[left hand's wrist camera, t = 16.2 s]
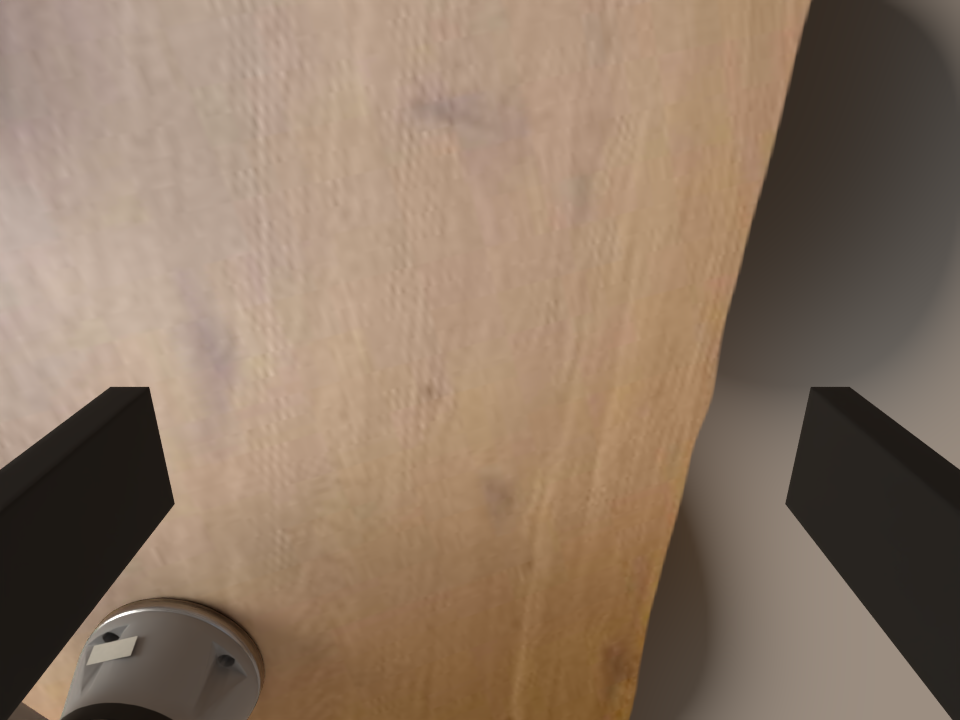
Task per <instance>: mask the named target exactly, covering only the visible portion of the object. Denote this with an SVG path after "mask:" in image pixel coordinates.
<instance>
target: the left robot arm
mask: <svg viewBox="0 0 960 720" xmlns="http://www.w3.org/2000/svg"><path fill="white" fill-rule="evenodd" d="M174 504H175V503H174V499H173V494H172V490H171V485H170V480H169V476H168V471H167V467H166V462H165V458H164V453H163V448H162V444H161V439H160V435H159V430H158V425H157V421H156V416H155V412H154V407H153V403H152V398H151V393H150V389H149V387H110V388H108V389H107V390H106V391H104V392H103V393H102V394H101V395H99V396H98V397H97V398H95V399H94V400H93V401H91V402H90V403H89V404H87V405H86V406H85V407H83V408H82V409H81V410H79V411H78V412H77V413H75V414H74V415H73V416H71V417H70V418H69V419H67V420H66V421H65V422H63V423H62V424H61V425H59V426H58V427H57V428H55V429H54V430H53V431H51V432H50V433H49V434H47V435H46V436H45V437H43V438H42V439H41V440H39V441H38V442H37V443H35V444H34V445H33V446H31V447H30V448H29V449H27V450H26V451H25V452H23V453H22V454H21V455H19V456H18V457H17V458H15V459H14V460H13V461H11V462H10V463H9V464H7V465H6V466H5V467H3V468H2V469H1V470H0V720H48V719H47V718H45V717H44V716H42V715H41V714H39V713H38V712H36V711H34V710H33V709H31V708H30V707H28V706H27V705H25V704H24V703H22V700H23V699H24V698H25V697H26V695H27V694H28V693H29V691H30V690H31V689H32V687H33V686H34V685H35V684H36V682H37V681H38V680H39V678H40V677H41V676H42V675H43V673H44V672H45V671H46V669H47V668H48V667H49V666H50V664H51V663H52V662H53V660H54V659H55V658H56V656H57V655H58V654H59V653H60V651H61V650H62V649H63V647H64V646H65V645H66V644H67V642H68V641H69V640H70V638H71V637H72V636H73V635H74V633H75V632H76V631H77V629H78V628H79V627H80V625H81V624H82V623H83V622H84V620H85V619H86V618H87V616H88V615H89V614H90V613H91V611H92V610H93V609H94V607H95V606H96V605H97V604H98V602H99V601H100V600H101V598H102V597H103V596H104V594H105V593H106V592H107V591H108V589H109V588H110V587H111V585H112V584H113V583H114V582H115V580H116V579H117V578H118V576H119V575H120V574H121V573H122V571H123V570H124V569H125V567H126V566H127V565H128V563H129V562H130V561H131V560H132V558H133V557H134V556H135V554H136V553H137V552H138V551H139V549H140V548H141V547H142V545H143V544H144V543H145V542H146V540H147V539H148V538H149V536H150V535H151V534H152V532H153V531H154V530H155V529H156V527H157V526H158V525H159V523H160V522H161V521H162V520H163V518H164V517H165V516H166V514H167V513H168V512H169V511H170V509H171V508H172V507H173V505H174ZM786 505H787V507H788V508H789V509H790V511H791V512H792V513H793V514H794V516H795V517H796V518H797V520H798V521H799V522H800V523H801V525H802V526H803V527H804V529H805V530H806V531H807V532H808V534H809V535H810V536H811V538H812V539H813V540H814V541H815V543H816V544H817V545H818V547H819V548H820V549H821V551H822V552H823V553H824V554H825V556H826V557H827V558H828V560H829V561H830V562H831V563H832V565H833V566H834V567H835V569H836V570H837V571H838V572H839V574H840V575H841V576H842V578H843V579H844V580H845V582H846V583H847V584H848V585H849V587H850V588H851V589H852V591H853V592H854V593H855V594H856V596H857V597H858V598H859V600H860V601H861V602H862V603H863V605H864V606H865V607H866V609H867V610H868V611H869V613H870V614H871V615H872V616H873V618H874V619H875V620H876V622H877V623H878V624H879V625H880V627H881V628H882V629H883V631H884V632H885V633H886V634H887V636H888V637H889V638H890V640H891V641H892V642H893V644H894V645H895V646H896V647H897V649H898V650H899V651H900V653H901V654H902V655H903V656H904V658H905V659H906V660H907V662H908V663H909V664H910V666H911V667H912V668H913V669H914V671H915V672H916V673H917V674H918V676H919V677H920V678H921V680H922V681H923V682H924V684H925V685H926V686H927V687H928V689H929V690H930V691H931V693H932V694H933V695H934V697H935V698H936V699H937V700H938V702H939V703H940V704H941V706H942V707H943V708H944V709H945V711H946V712H947V713H948V715H949V716H950V717H951V718H952V720H960V470H959V469H958V468H957V467H955V466H954V465H953V464H951V463H950V462H949V461H947V460H946V459H945V458H943V457H942V456H941V455H939V454H938V453H937V452H935V451H934V450H933V449H931V448H930V447H929V446H927V445H926V444H925V443H923V442H922V441H921V440H919V439H918V438H917V437H915V436H914V435H913V434H911V433H910V432H909V431H907V430H906V429H905V428H903V427H902V426H901V425H899V424H898V423H897V422H895V421H894V420H893V419H891V418H890V417H889V416H887V415H886V414H885V413H883V412H882V411H881V410H879V409H878V408H877V407H875V406H874V405H873V404H871V403H870V402H869V401H867V400H866V399H865V398H863V397H862V396H861V395H859V394H858V393H857V392H855V391H854V390H853V389H851V388H850V387H811V389H810V394H809V398H808V403H807V407H806V412H805V416H804V421H803V426H802V430H801V435H800V439H799V444H798V449H797V453H796V458H795V462H794V467H793V471H792V476H791V480H790V485H789V490H788V494H787V499H786ZM263 683H264V664H263V661H262V657H261V655H260V652H259V650H258V648H257V647H256V645H255V643H254V642H253V641H252V639H251V638H250V637H249V636H248V634H247V633H246V632H245V631H244V630H243V629H242V628H241V627H240V626H238V625H237V624H236V623H235V622H233V621H232V620H230V619H229V618H227V617H226V616H224V615H222V614H221V613H219V612H217V611H215V610H213V609H210V608H208V607H205V606H203V605H199V604H196V603H193V602H188V601H184V600H178V599H164V598H158V599H147V600H140V601H136V602H133V603H130V604H127V605H124V606H122V607H120V608H118V609H116V610H114V611H113V612H111V613H110V614H109V615H107V616H106V617H105V618H104V619H103V620H102V621H101V622H100V624H99V625H98V626H97V628H96V629H95V630H94V632H93V633H92V634H91V636H90V637H89V639H88V640H87V642H86V644H85V646H84V648H83V650H82V652H81V654H80V656H79V660H78V663H77V666H76V669H75V673H74V676H73V679H72V682H71V686H70V689H69V692H68V696H67V699H66V702H65V705H64V709H63V712H62V715H61V718H60V720H247V719H248V717H249V716H250V714H251V712H252V711H253V709H254V707H255V705H256V703H257V700H258V698H259V695H260V692H261V690H262V687H263Z"/></svg>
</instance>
